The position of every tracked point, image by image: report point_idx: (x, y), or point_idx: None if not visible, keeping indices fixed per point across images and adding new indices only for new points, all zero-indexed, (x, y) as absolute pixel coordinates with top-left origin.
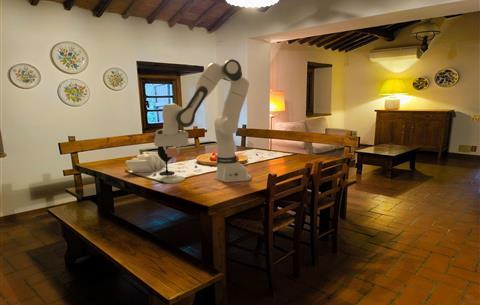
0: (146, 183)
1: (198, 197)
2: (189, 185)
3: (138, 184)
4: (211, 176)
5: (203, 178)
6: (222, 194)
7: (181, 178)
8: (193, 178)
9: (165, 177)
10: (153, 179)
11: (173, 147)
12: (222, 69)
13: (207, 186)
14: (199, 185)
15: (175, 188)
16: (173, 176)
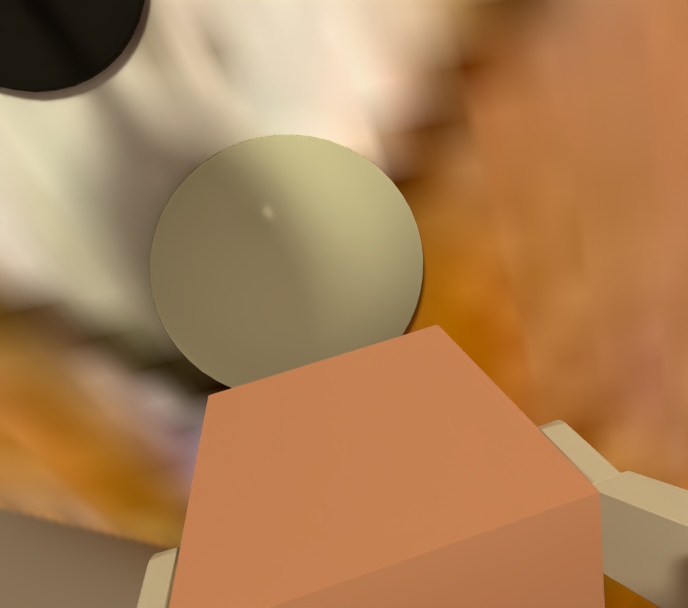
0: (74, 462)
1: (620, 586)
2: (515, 402)
3: (14, 510)
4: (685, 30)
5: (605, 143)
6: None
7: (387, 252)
8: (498, 165)
9: (169, 253)
10: (36, 313)
11: (448, 576)
12: None
13: (659, 386)
14: (596, 379)
15: None
16: (249, 185)
